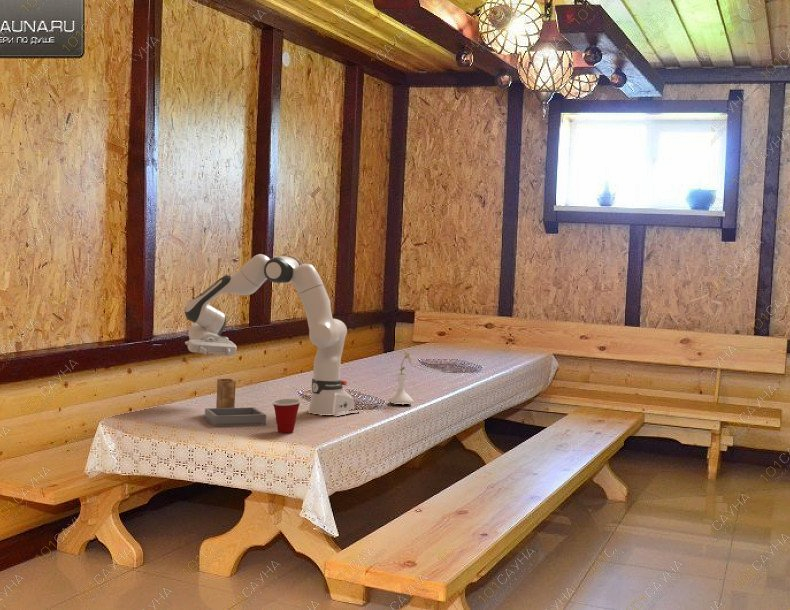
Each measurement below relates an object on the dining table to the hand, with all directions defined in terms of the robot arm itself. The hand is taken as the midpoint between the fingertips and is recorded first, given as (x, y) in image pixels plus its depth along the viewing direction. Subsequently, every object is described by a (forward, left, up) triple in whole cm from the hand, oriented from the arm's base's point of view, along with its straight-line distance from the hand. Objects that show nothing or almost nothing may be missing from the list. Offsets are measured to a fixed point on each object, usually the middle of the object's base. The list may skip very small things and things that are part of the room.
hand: (218, 353), depth 426 cm
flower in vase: (-79, +28, -24) cm, 87 cm away
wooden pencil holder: (+3, +11, -23) cm, 26 cm away
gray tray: (+8, +25, -23) cm, 35 cm away
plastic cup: (+3, +50, -24) cm, 55 cm away
